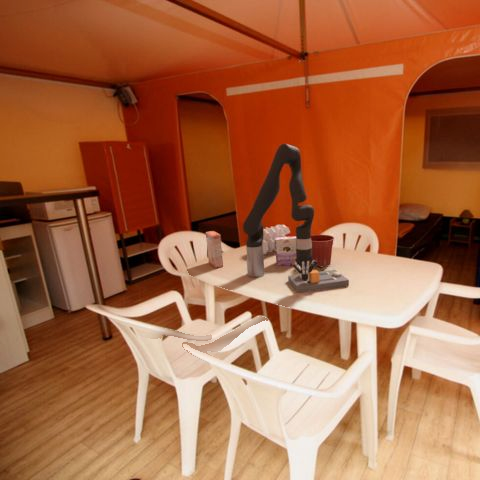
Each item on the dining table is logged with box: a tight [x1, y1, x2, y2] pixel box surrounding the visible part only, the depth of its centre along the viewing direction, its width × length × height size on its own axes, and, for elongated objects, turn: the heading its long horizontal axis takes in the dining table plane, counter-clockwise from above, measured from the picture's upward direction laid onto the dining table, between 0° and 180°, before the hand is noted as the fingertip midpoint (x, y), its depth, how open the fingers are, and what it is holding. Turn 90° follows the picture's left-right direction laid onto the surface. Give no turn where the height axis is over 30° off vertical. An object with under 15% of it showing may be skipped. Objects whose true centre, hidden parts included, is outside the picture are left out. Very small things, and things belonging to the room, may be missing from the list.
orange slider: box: [309, 269, 320, 283], centre depth 162 cm, size 4×4×5 cm
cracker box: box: [205, 230, 224, 269], centre depth 208 cm, size 14×6×21 cm, turn 22°
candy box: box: [275, 235, 296, 266], centre depth 200 cm, size 14×6×16 cm, turn 84°
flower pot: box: [311, 234, 335, 268], centre depth 194 cm, size 16×16×16 cm
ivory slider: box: [297, 265, 309, 278], centre depth 169 cm, size 4×4×5 cm
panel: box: [287, 269, 350, 294], centre depth 167 cm, size 26×16×4 cm, turn 99°
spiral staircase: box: [263, 223, 291, 255], centre depth 227 cm, size 18×18×25 cm
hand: (304, 280), depth 162 cm, fingers closed
